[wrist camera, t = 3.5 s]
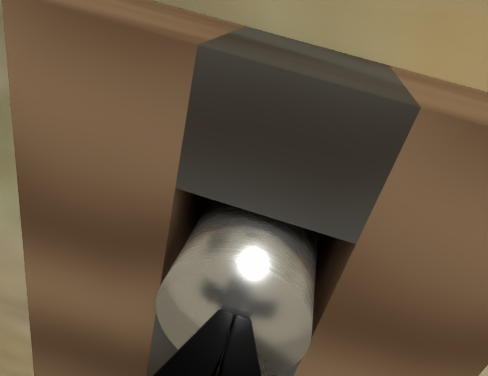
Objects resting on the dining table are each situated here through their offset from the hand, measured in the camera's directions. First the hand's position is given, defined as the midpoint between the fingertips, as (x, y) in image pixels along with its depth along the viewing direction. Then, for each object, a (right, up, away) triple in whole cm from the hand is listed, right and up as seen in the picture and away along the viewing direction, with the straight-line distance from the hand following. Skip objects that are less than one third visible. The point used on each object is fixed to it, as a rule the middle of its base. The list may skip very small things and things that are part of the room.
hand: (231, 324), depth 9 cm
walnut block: (0, -2, +9) cm, 9 cm away
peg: (+1, +2, +4) cm, 5 cm away
